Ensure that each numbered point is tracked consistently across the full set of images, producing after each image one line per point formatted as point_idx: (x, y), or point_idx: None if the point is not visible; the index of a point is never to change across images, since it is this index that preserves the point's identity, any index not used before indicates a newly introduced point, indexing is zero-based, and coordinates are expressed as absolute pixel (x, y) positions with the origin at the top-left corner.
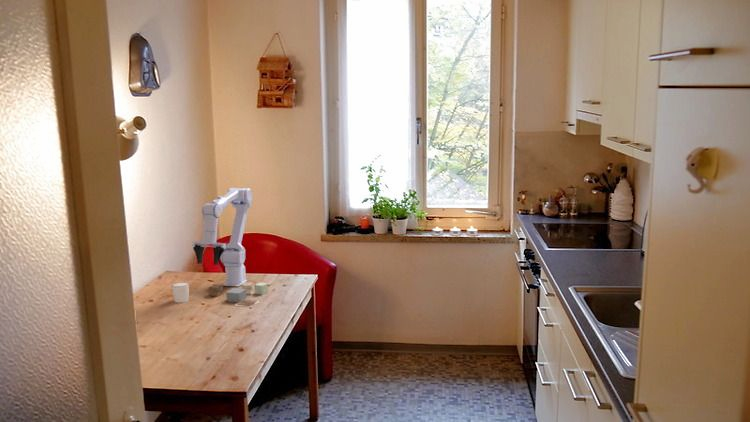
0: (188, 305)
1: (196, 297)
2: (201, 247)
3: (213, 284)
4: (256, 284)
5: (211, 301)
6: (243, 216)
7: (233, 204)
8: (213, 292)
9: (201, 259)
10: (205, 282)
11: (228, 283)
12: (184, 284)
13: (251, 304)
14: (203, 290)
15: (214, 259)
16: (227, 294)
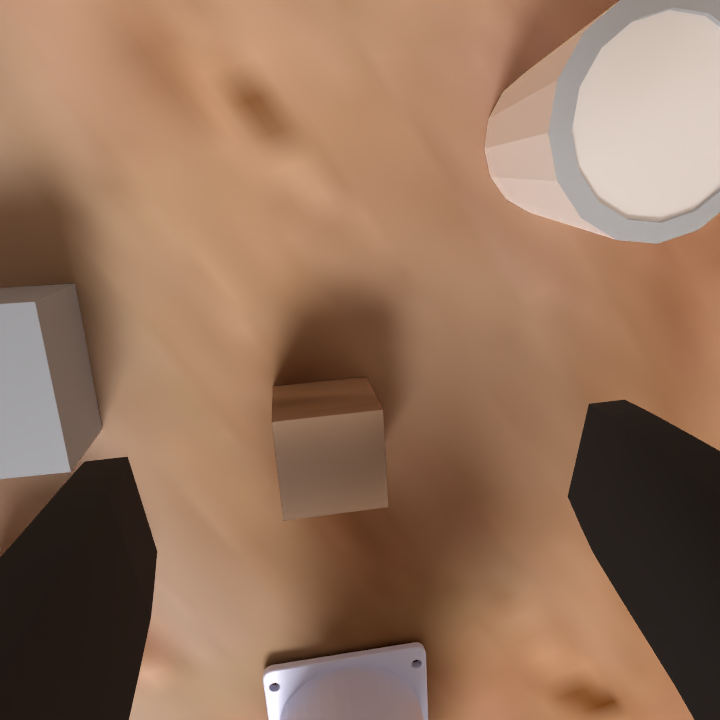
0: (386, 4)
1: (459, 281)
2: None
3: (385, 494)
4: None
5: (227, 217)
6: None
7: None
8: (325, 394)
9: (628, 573)
10: (610, 652)
11: (368, 674)
12: (613, 153)
13: None
14: (511, 480)
15: (36, 566)
16: (28, 298)
